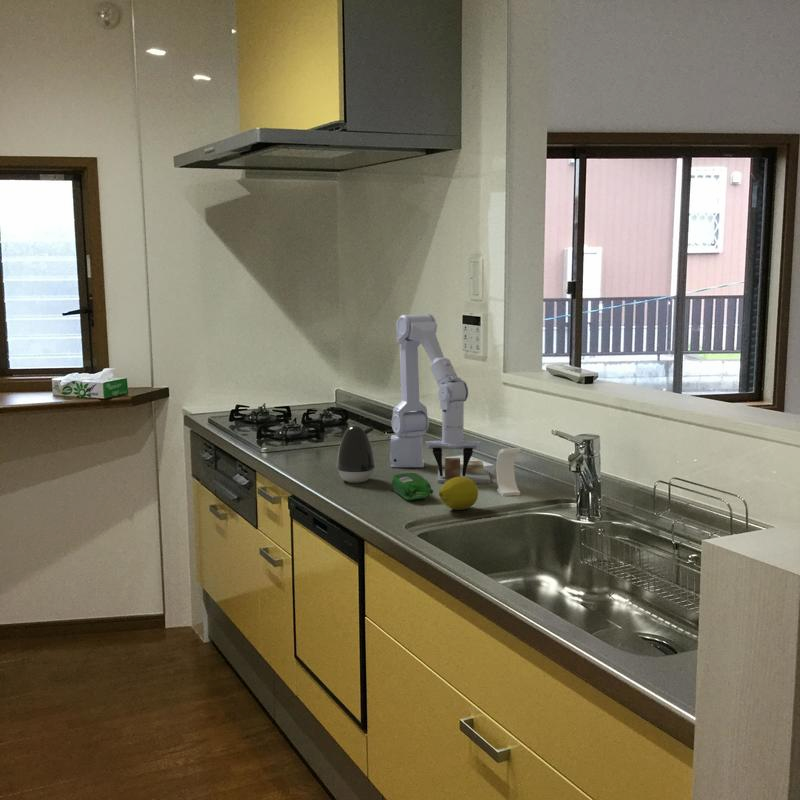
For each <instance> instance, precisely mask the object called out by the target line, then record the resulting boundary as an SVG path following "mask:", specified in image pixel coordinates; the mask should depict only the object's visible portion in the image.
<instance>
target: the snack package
mask: <svg viewBox="0 0 800 800" xmlns="http://www.w3.org/2000/svg"><path fill="white" fill-rule="evenodd" d="M391 484H392V488H393V491H395V493H396V494H398V495H399V496H401V497H402V498H403V499H405V500H406V501H413V500H422V499H425V498H427V497H428V496H429V494H431V495H432V494H434V489H432V487H431V485H430V483H429V481H428V480H427V479H426V478H425V477H423V476H422V475H420V474H419V473H416V472H403V473H397V474H395V475H393V477H392V479H391Z"/></svg>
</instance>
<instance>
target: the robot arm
mask: <svg viewBox="0 0 800 800" xmlns="http://www.w3.org/2000/svg"><path fill="white" fill-rule="evenodd" d="M395 325H396V326H395V327H396V330H395V332H396V333H395V334H396V343H398V344H399V364H400V367H399V368H400V392H401V393H400V396H401V398H400V399H401V401H400V402H399V403H398V404H397V405H396V406H395V407H393V409H392V416H391V421H390V423H391V428H392V430H393V432H394V433H395V434H392V435H391V436H390V453H389V454H390V455H389V461H390V467H391V468H424V467H425V460H424V459H423V458H424V457H423V456H424V454H423V453H424V452H423V449H424V448H423V446H424V444H423V443H424V442H423V440H424V436H425V434H426V432H427V431H428V429H429V427H430V417H429V416H428V415H429V414H428V410H427V406H426V405H424V404H423V403H422V402H421V401H420V383H419V381H420V378H419V377H420V375H419V374H420V373H419V350H418V349H419V347H420V345H421V346H422V347H423V349H424V351H425V352H426V355H427V356H428V357H429V359H430V361H431V364H430V372H431V373H432V375H433V377H434V380H435V382H436V384H437V386H438V390H437V396H438V399H439V404H440V406H439V407H440V409H441V410H442V411H441V414H442V415H441V419H442V420H441V421H442V423H441V424H442V425H441V433H442V434H441V440H426V441H425V450H432V455H433V457H434V458H435V461H436V463H437V467H438V469H439V472H440V476H443V470H442V469H443V450H462V454H463V456H462V459H463V460H462V461H463V463H462V469H463V471H462V475H463V476H465V473H466V469H467V465H468V462H469V461H471V457H472V456H473V453H474V451H473V450H477V451H479V450H480V449H481V442H480V440H479V441H476V440H475V441H473V440H464V417H465V416H464V415H465V414H464V409H465V408H464V405H465V403H464V402H467V399H468V397H469V388H468V385H467V382H466V381H465V380H463V379H462V378H461V377H458V375H457V373H456V370H455V368H454V366H453V364H452V362H451V360H450V359H449V358H446V357H445V356H444V354H443V351H442V348H441V346H440V342H439V341H438V337H437V335H436V334H437V329H438V324H437V320H436V318H435V316H434V315H433V314H432V313H425V314H401V315H400V316H399V318H398V319H397V320H396V323H395Z"/></svg>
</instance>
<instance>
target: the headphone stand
mask: <svg viewBox="0 0 800 800" xmlns="http://www.w3.org/2000/svg"><path fill="white" fill-rule="evenodd" d="M521 451H522V449H521V447H520V448H519V447H518V448H500V449H499V451H498V453H497V457H496V464H495V465H496V466H495V471H496V472H495V474H496V483H497V487H498V488H496V492H497V493H499V495H501V496H503V497H509V496H510V497H511V496H521V491H520V490H519V487H518V486H517V485H518V484H517V482H516V478H515V462H516V461H515V460H516V456H517V454H518V453H519V452H520V453H521Z"/></svg>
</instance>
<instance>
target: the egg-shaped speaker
mask: <svg viewBox="0 0 800 800" xmlns="http://www.w3.org/2000/svg"><path fill="white" fill-rule="evenodd" d="M371 432H374V427H373V426H370V427H368V428H366V429H364V428H363V427H362V426H360V425H355V424H354V425H351V426H349V427H348V428H347V429H346V430H345V431H344V434H343V436H342V439H341V441H340V445H339V448H338V453H337V458H336V459H337V460H336V469H337V470H338V473H339V476H340V478H341V479H342V480H343V481H345V482H347V483H350V484H360V483H364V482H366V481H368V480H369V479H370V478H371V477H372V476H373V472H374V469H375V457H374V450H373V446H372V443H371V441H370V438H369V435H368V434H370V433H371Z"/></svg>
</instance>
